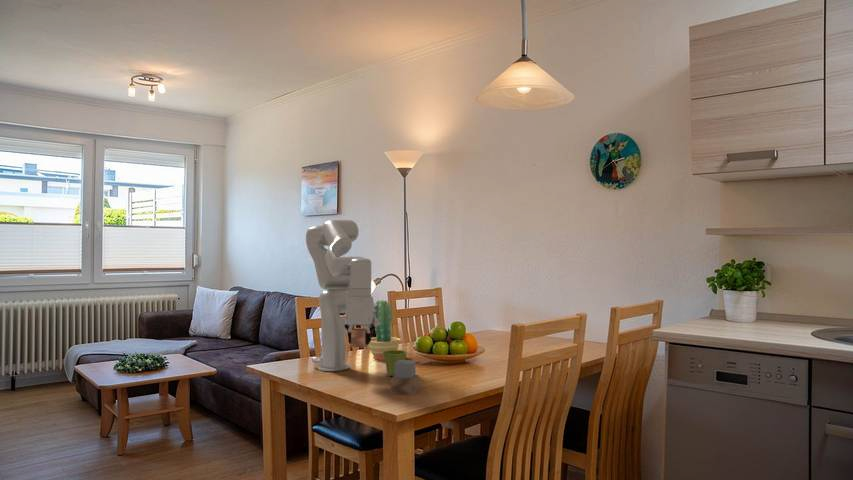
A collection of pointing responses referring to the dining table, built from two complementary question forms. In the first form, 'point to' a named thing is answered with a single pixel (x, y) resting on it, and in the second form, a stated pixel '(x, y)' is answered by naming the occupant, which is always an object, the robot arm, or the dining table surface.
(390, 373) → the plant pot
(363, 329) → the brownish pink block
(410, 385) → the walnut base block
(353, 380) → the dining table surface
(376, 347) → the potted cactus
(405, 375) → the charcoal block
